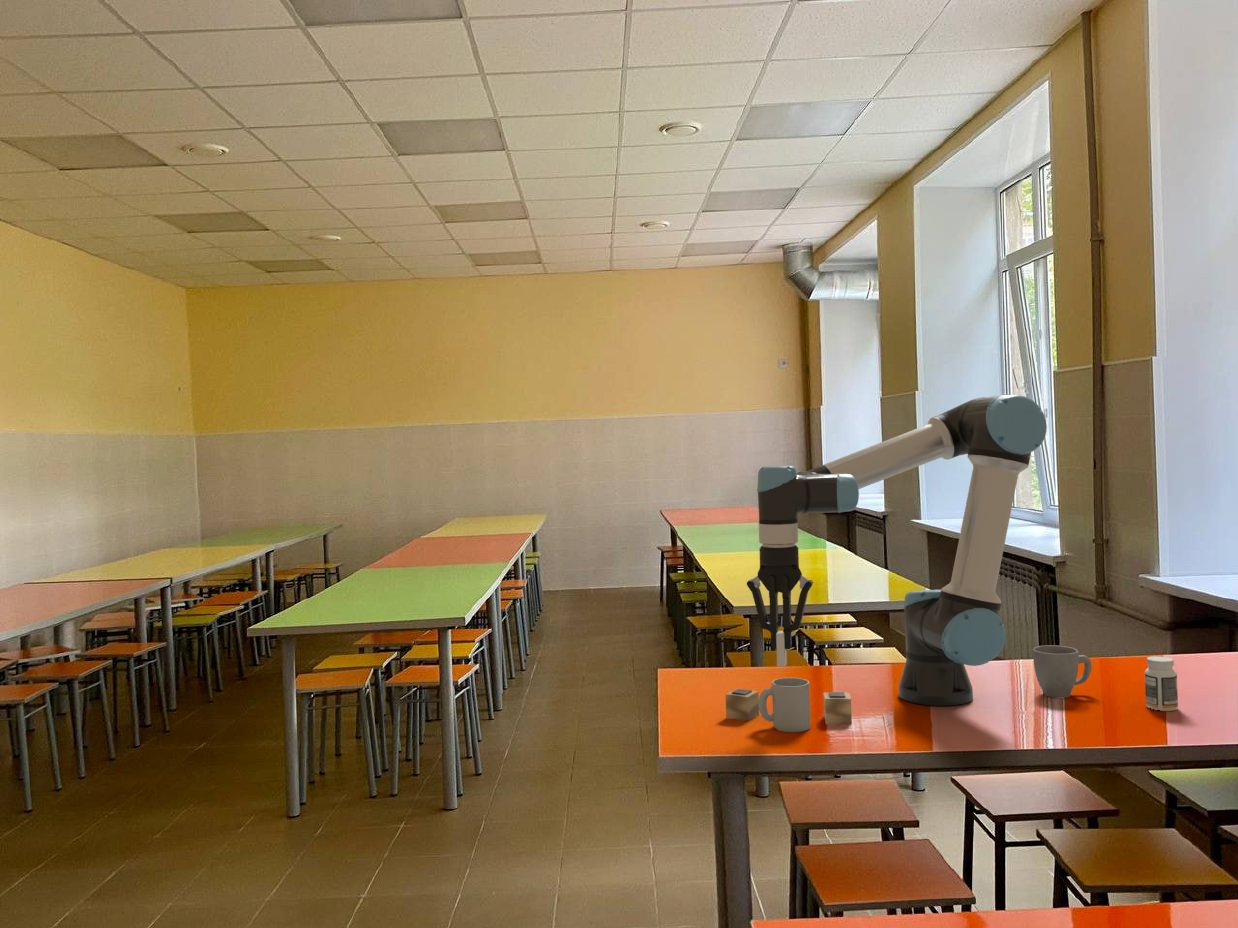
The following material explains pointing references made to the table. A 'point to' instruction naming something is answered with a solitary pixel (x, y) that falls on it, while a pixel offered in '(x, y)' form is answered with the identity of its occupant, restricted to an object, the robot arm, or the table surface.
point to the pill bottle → (1161, 684)
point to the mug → (1059, 669)
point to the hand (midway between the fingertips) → (781, 665)
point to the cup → (787, 704)
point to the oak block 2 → (837, 708)
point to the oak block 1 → (742, 704)
